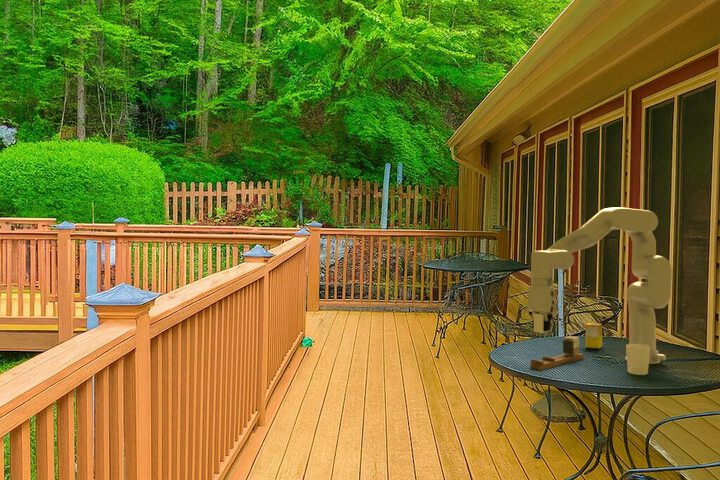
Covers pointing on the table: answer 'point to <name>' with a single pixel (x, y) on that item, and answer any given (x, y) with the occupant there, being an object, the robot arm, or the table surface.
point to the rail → (570, 355)
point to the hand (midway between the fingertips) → (541, 329)
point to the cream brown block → (539, 322)
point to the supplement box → (593, 336)
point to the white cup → (637, 358)
